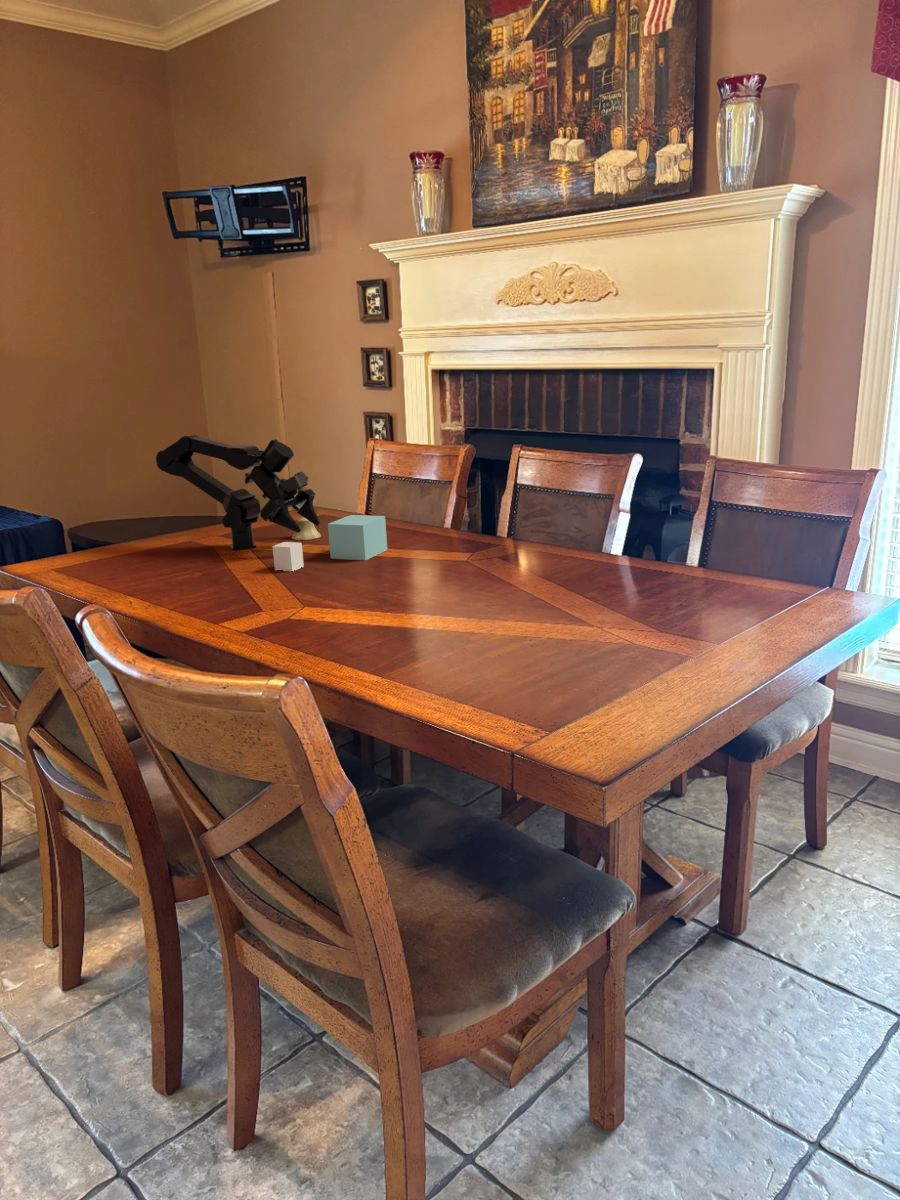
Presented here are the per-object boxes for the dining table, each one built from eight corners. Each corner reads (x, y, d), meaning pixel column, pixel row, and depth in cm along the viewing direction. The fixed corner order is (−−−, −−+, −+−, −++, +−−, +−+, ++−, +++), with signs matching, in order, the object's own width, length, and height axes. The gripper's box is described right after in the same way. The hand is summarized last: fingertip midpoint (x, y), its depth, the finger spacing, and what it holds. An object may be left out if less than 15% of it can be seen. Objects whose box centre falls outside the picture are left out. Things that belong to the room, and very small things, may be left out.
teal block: (330, 558, 215) (327, 523, 213) (353, 548, 226) (351, 514, 223) (365, 560, 211) (362, 525, 209) (387, 550, 222) (385, 516, 219)
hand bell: (290, 536, 244) (284, 480, 240) (318, 533, 247) (313, 478, 242) (293, 541, 237) (288, 484, 232) (323, 538, 239) (318, 482, 235)
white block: (275, 570, 206) (272, 546, 204) (286, 565, 210) (284, 541, 208) (292, 571, 204) (290, 547, 202) (303, 566, 208) (301, 542, 206)
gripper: (265, 468, 211) (307, 514, 210) (306, 458, 228) (344, 501, 227) (242, 498, 217) (282, 543, 216) (284, 486, 233) (321, 528, 232)
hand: (309, 527), depth 222 cm, fingers open, 9 cm apart
